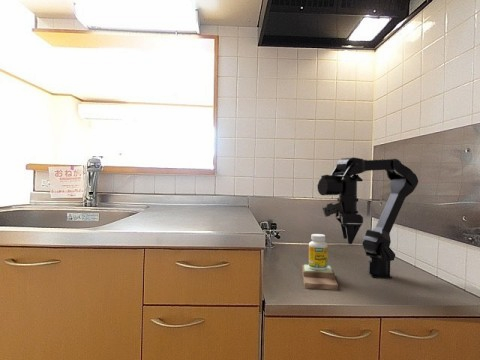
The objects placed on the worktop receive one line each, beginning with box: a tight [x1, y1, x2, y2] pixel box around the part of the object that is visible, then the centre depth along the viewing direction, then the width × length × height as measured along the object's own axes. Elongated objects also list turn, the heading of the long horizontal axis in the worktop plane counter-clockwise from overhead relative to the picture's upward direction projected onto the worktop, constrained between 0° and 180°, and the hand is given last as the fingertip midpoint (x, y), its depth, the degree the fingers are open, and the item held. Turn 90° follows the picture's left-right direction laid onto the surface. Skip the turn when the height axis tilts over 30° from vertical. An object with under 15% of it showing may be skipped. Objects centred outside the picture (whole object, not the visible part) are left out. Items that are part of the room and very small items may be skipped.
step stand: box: [301, 264, 339, 291], centre depth 111 cm, size 10×16×3 cm, turn 172°
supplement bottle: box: [308, 233, 329, 270], centre depth 114 cm, size 6×6×11 cm
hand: (347, 241), depth 113 cm, fingers open, 9 cm apart
